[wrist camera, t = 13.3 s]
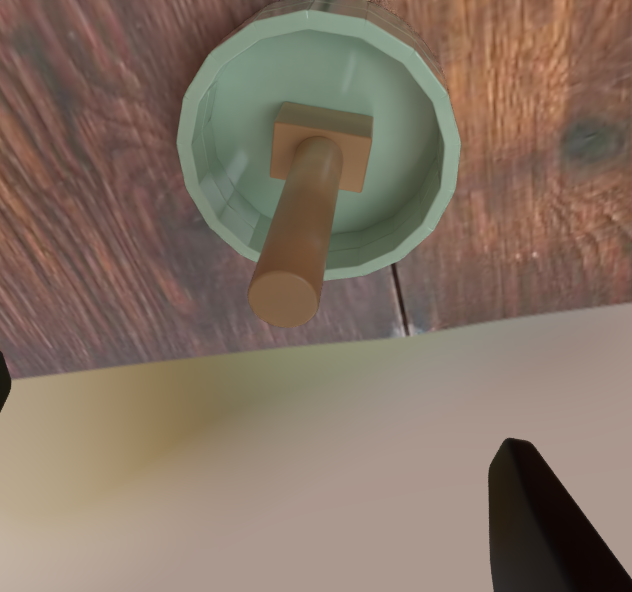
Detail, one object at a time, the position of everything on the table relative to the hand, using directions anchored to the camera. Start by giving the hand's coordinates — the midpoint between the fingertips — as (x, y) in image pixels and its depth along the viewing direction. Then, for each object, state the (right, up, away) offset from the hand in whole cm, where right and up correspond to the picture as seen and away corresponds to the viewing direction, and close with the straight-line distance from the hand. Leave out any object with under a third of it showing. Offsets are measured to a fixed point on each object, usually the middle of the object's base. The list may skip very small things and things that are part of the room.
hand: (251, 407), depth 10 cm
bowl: (+1, +8, +10) cm, 13 cm away
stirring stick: (+1, +8, +10) cm, 13 cm away
